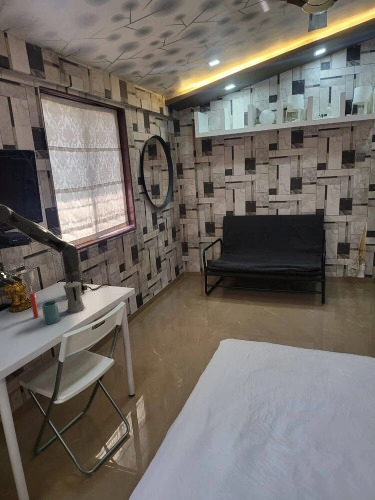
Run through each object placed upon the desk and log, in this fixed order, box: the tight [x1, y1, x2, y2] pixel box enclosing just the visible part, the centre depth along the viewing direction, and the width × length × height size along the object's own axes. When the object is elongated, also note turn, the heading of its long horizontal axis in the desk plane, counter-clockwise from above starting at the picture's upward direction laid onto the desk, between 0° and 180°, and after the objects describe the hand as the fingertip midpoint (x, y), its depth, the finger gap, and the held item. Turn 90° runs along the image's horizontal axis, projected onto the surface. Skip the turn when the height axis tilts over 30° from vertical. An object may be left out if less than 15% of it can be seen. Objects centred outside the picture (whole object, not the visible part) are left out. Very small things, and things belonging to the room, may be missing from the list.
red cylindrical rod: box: [28, 291, 40, 319], centre depth 178 cm, size 2×2×14 cm
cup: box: [41, 300, 61, 325], centre depth 172 cm, size 7×7×10 cm
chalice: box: [20, 268, 37, 300], centre depth 206 cm, size 7×7×18 cm
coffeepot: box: [63, 279, 85, 314], centre depth 183 cm, size 15×9×18 cm, turn 25°
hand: (17, 282), depth 177 cm, fingers open, 8 cm apart
